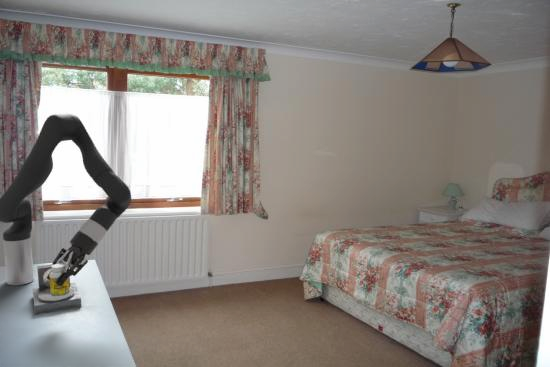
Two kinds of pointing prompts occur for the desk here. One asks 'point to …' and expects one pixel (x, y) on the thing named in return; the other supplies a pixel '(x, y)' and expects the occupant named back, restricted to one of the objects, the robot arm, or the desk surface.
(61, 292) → the supplement bottle
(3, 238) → the robot arm
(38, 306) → the scale
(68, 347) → the desk surface
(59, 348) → the desk surface
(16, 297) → the desk surface
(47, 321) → the desk surface
